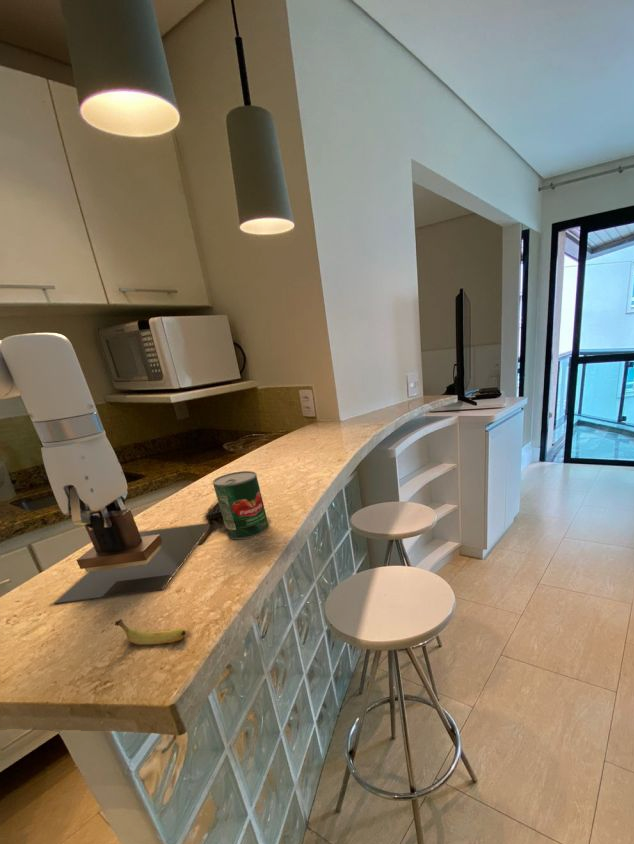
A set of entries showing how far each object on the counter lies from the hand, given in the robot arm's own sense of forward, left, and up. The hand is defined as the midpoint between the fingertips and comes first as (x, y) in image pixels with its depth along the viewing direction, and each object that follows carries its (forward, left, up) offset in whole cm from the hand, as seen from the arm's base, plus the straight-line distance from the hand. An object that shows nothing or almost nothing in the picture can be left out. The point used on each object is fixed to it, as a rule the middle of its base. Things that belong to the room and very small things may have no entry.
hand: (118, 544), depth 64 cm
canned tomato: (+16, +14, -7) cm, 22 cm away
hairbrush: (+8, +30, -6) cm, 31 cm away
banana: (+12, -18, -7) cm, 23 cm away
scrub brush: (0, 0, -3) cm, 3 cm away
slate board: (0, +6, -6) cm, 8 cm away
